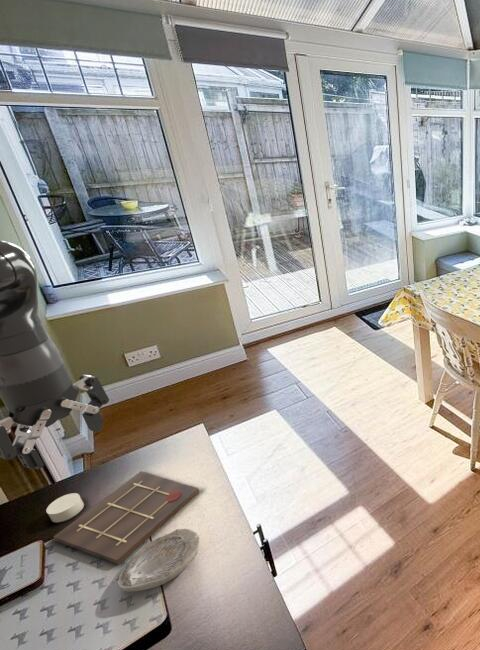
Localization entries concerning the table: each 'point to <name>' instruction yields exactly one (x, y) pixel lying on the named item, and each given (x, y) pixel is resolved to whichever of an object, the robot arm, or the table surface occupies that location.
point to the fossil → (160, 560)
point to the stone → (65, 507)
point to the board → (127, 517)
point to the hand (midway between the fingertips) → (68, 447)
